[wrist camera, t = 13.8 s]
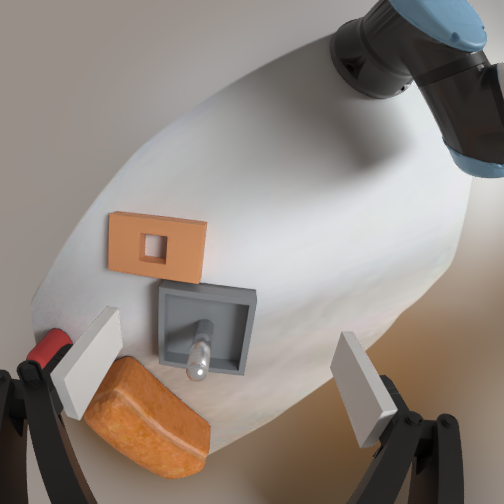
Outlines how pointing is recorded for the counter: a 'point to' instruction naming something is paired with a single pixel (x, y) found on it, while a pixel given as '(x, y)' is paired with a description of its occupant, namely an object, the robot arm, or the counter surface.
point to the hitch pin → (200, 351)
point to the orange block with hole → (178, 246)
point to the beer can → (48, 346)
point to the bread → (148, 421)
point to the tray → (214, 309)
